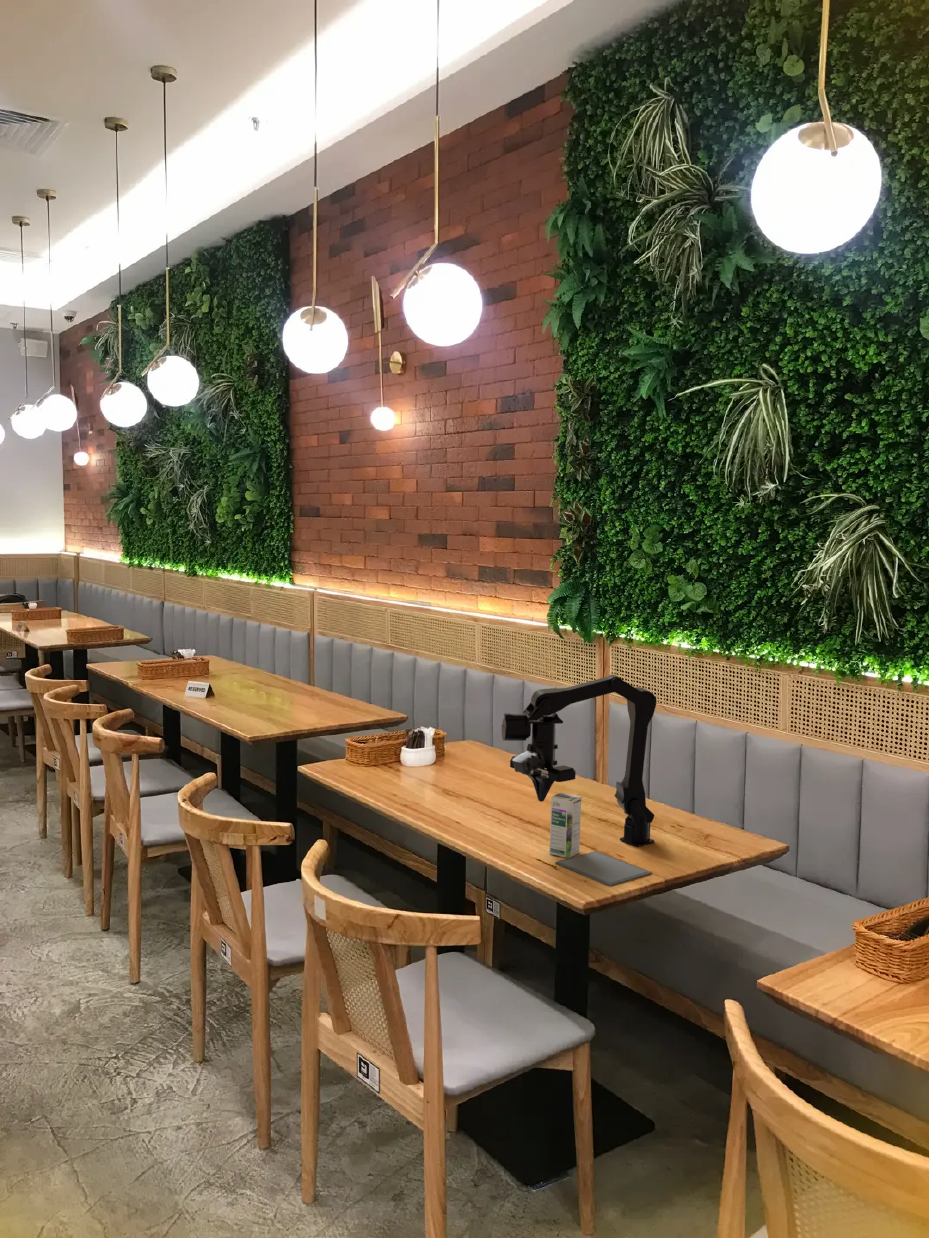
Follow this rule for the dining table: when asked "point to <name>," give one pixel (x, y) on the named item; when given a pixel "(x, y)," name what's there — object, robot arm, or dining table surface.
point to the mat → (603, 868)
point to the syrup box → (565, 825)
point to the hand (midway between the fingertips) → (541, 801)
